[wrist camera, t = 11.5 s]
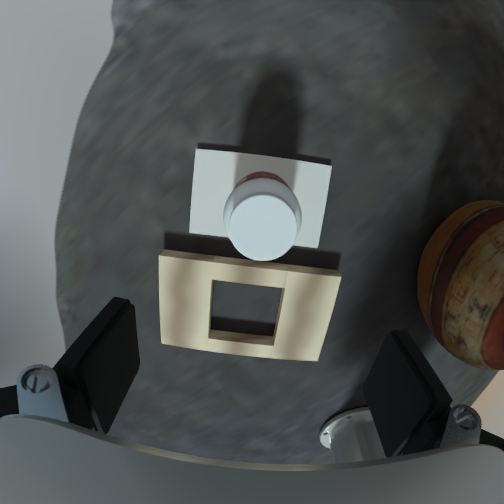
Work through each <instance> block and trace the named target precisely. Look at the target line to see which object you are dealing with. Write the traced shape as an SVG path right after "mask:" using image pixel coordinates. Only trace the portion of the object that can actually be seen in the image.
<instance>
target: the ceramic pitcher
mask: <svg viewBox="0 0 504 504" xmlns="http://www.w3.org/2000/svg"><path fill="white" fill-rule="evenodd" d="M417 288H418V301H419V304H420V308H421V311H422V314H423V317H424V319H425V321H426V323H427V325H428V327H429V328H430V330H431V332H432V333H433V335H434V336H435V338H436V339H437V340H438V342H439V343H440V344H441V345H442V346H443V347H444V348H445V349H446V350H447V351H448V352H450V353H451V354H452V355H453V356H454V357H456V358H458V359H459V360H461V361H463V362H465V363H467V364H469V365H471V366H474V367H477V368H481V369H488V370H504V202H500V201H495V200H480V201H475V202H471V203H469V204H466V205H464V206H463V207H461V208H459V209H458V210H456V211H455V212H454V213H452V214H451V215H450V216H449V217H448V218H447V219H446V220H445V221H444V222H443V223H442V224H441V225H440V226H439V227H438V228H437V230H436V231H435V232H434V234H433V235H432V236H431V238H430V239H429V241H428V243H427V244H426V247H425V249H424V251H423V253H422V255H421V259H420V263H419V269H418V277H417Z"/></svg>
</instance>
